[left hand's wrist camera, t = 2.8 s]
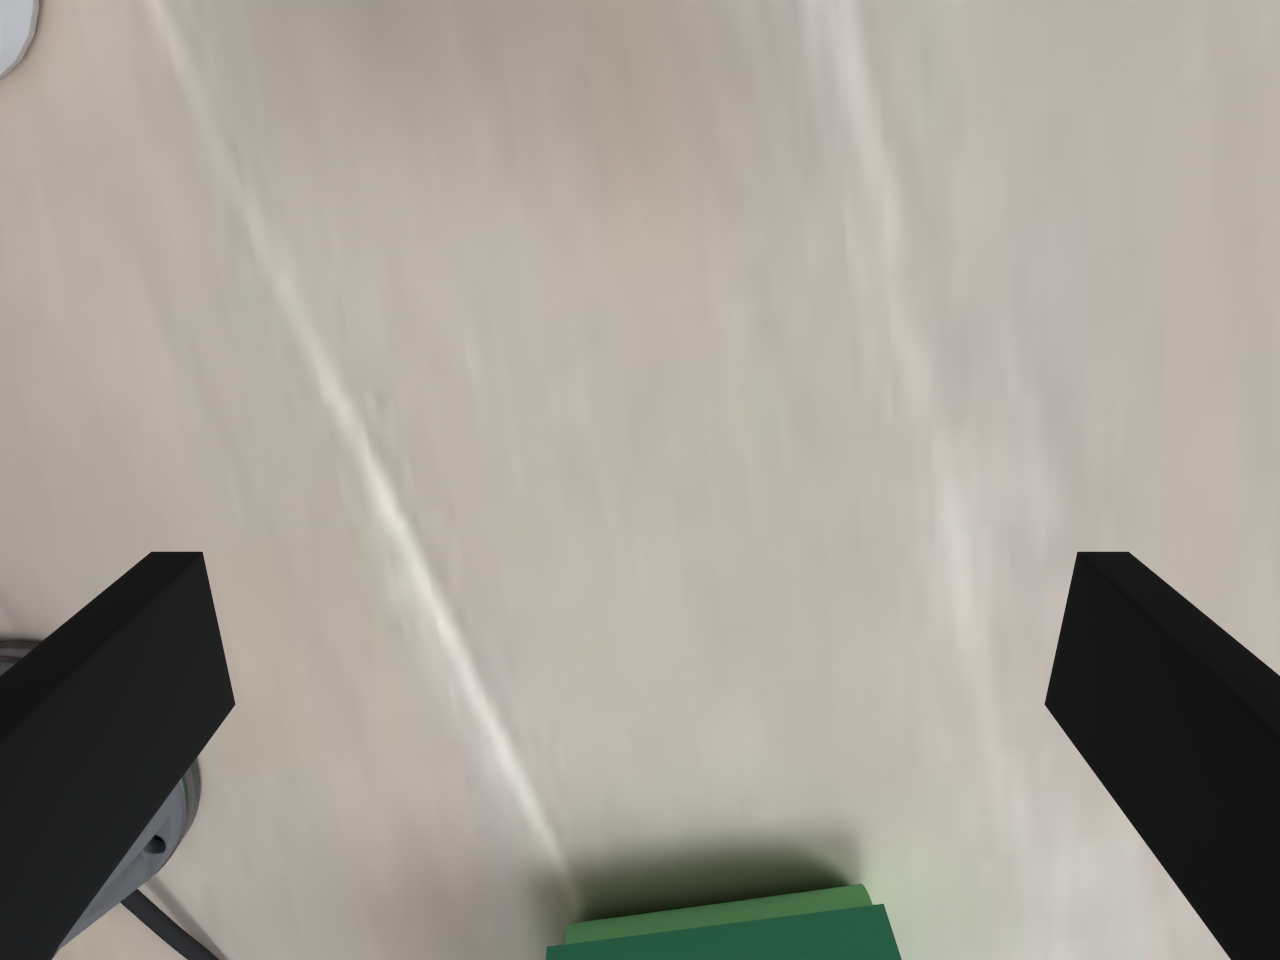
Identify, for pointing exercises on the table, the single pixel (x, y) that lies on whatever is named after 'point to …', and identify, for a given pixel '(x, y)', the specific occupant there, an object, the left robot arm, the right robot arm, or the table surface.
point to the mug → (16, 31)
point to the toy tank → (743, 931)
